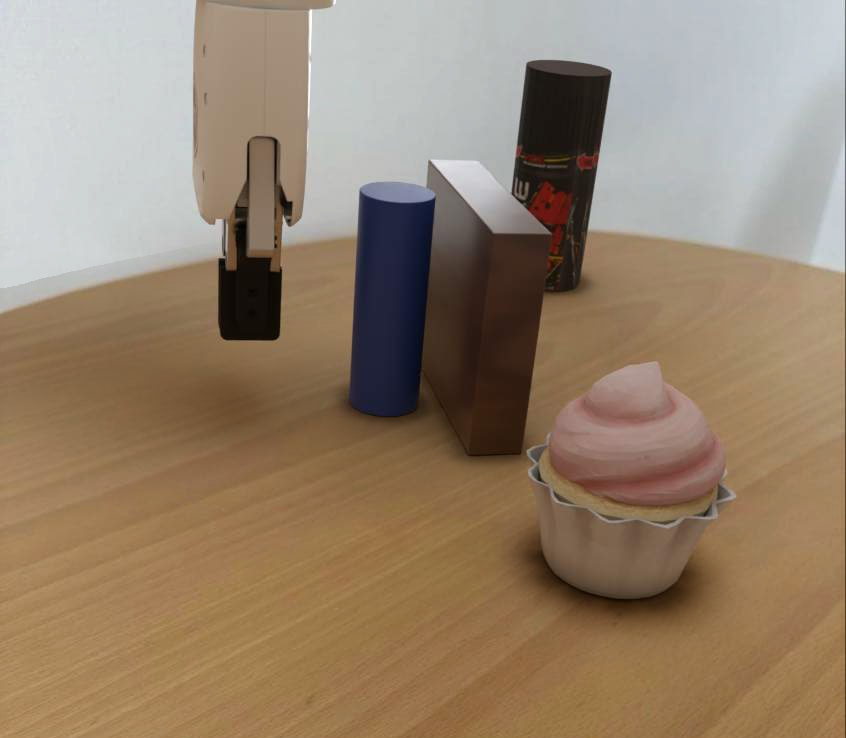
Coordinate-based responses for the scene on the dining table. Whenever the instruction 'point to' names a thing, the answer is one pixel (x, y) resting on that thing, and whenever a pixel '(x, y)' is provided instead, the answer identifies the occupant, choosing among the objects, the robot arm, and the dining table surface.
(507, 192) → the block
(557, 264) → the deodorant
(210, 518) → the dining table surface
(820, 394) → the dining table surface
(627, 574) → the cupcake
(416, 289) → the tube
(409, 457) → the dining table surface
